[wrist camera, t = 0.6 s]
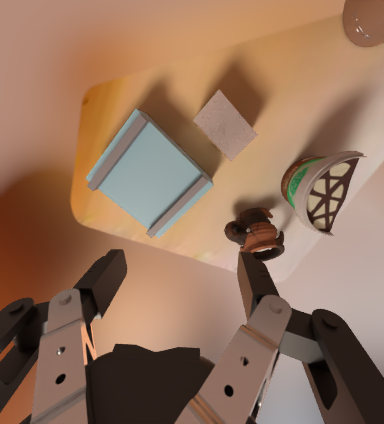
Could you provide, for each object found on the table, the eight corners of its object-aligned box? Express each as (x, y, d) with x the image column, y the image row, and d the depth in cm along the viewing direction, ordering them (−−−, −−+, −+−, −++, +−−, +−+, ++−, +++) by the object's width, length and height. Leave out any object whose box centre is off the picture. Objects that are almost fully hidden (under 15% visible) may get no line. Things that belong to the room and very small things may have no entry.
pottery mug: (282, 207, 36) (301, 244, 31) (256, 232, 43) (268, 266, 38) (229, 199, 33) (240, 239, 28) (210, 228, 40) (216, 264, 35)
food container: (283, 145, 32) (318, 148, 22) (319, 148, 31) (369, 151, 22) (267, 211, 36) (290, 236, 27) (298, 213, 36) (332, 239, 27)
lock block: (215, 98, 29) (219, 89, 24) (247, 135, 31) (257, 134, 26) (194, 123, 31) (192, 119, 25) (226, 157, 33) (231, 160, 27)
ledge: (145, 113, 31) (132, 106, 25) (211, 179, 34) (214, 187, 28) (100, 173, 35) (79, 180, 29) (163, 226, 38) (157, 242, 32)
